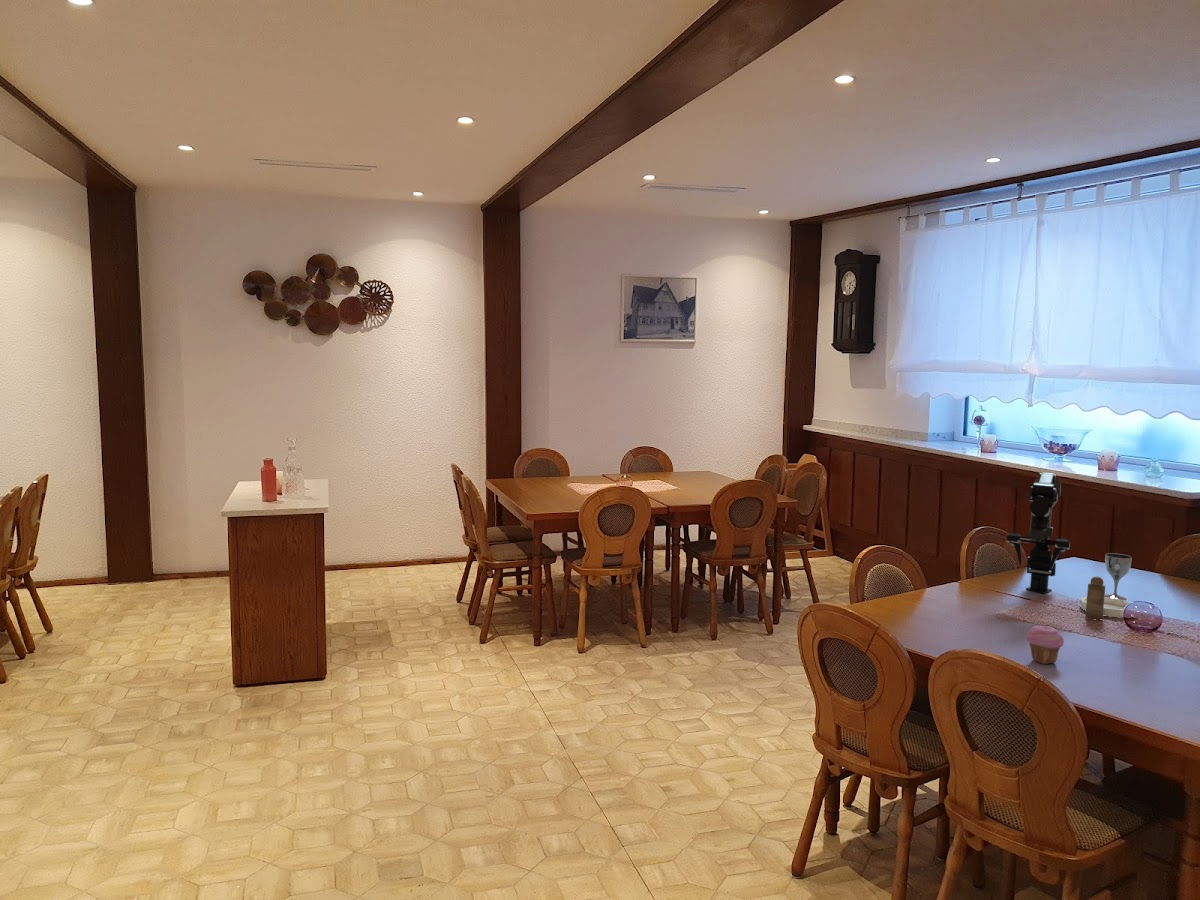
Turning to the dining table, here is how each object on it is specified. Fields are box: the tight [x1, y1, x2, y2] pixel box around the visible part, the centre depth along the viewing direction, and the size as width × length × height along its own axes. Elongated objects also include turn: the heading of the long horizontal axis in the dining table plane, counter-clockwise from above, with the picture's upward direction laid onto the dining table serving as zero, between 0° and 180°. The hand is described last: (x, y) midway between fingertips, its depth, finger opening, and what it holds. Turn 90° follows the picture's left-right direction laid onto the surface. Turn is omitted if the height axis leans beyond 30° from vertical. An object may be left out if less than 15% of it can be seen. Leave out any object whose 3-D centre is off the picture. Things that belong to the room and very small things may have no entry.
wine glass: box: [1104, 552, 1133, 601], centre depth 306 cm, size 8×8×15 cm
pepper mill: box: [1084, 575, 1106, 620], centre depth 279 cm, size 5×5×14 cm
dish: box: [1079, 595, 1131, 618], centre depth 289 cm, size 16×16×3 cm
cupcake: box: [1026, 625, 1065, 665], centre depth 237 cm, size 9×9×10 cm
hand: (1035, 567), depth 289 cm, fingers open, 9 cm apart
